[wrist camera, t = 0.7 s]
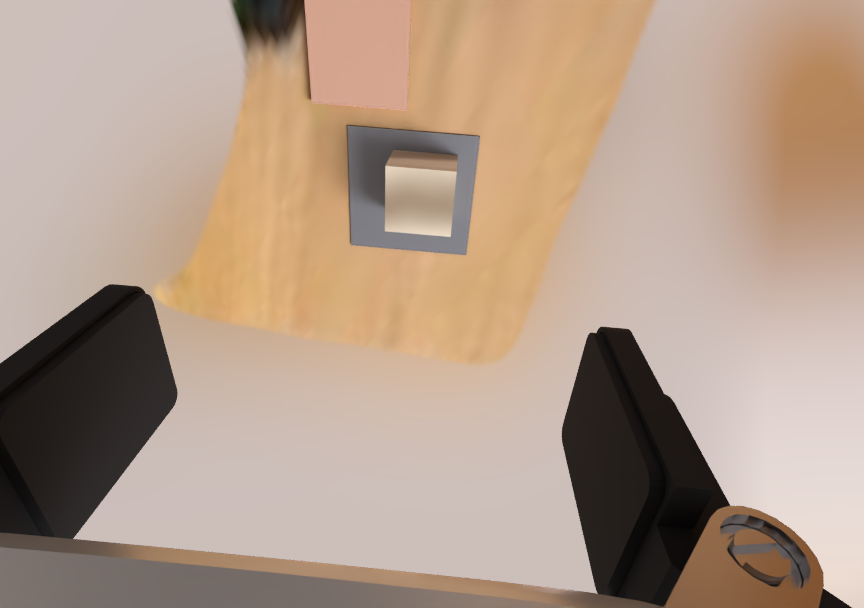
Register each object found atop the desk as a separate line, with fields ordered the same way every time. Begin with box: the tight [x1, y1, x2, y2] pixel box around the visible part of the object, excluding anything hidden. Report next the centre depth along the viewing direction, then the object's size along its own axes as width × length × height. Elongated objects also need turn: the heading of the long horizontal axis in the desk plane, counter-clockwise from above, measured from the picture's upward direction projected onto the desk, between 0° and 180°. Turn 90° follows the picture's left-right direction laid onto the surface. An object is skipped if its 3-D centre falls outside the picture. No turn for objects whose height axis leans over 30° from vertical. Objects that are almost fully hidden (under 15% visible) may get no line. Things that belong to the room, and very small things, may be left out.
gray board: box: [347, 125, 480, 255], centre depth 39 cm, size 10×10×1 cm
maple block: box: [385, 150, 458, 237], centre depth 37 cm, size 5×5×4 cm
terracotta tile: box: [304, 0, 411, 111], centre depth 33 cm, size 7×7×1 cm
